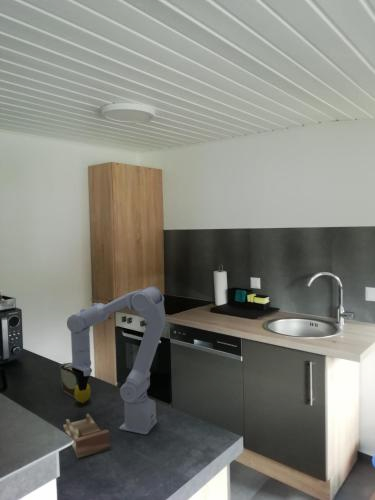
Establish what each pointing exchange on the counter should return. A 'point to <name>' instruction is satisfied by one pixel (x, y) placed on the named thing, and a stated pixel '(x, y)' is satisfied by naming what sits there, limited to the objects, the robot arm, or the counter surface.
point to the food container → (68, 379)
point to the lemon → (82, 394)
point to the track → (87, 438)
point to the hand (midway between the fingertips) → (82, 389)
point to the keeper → (88, 429)
